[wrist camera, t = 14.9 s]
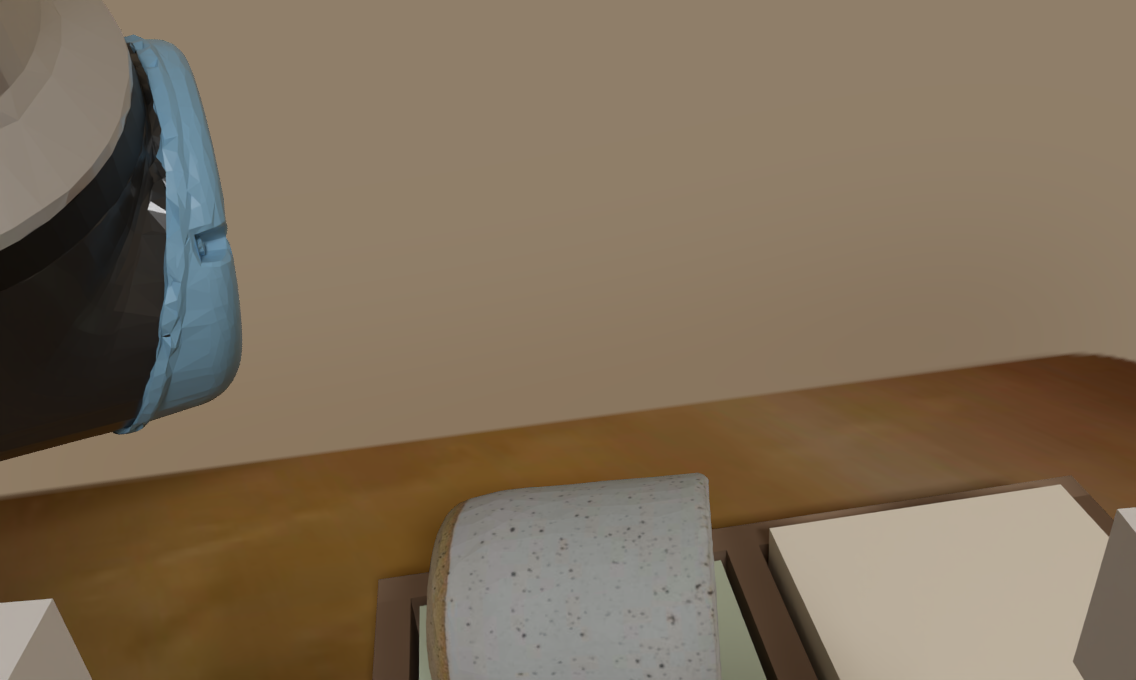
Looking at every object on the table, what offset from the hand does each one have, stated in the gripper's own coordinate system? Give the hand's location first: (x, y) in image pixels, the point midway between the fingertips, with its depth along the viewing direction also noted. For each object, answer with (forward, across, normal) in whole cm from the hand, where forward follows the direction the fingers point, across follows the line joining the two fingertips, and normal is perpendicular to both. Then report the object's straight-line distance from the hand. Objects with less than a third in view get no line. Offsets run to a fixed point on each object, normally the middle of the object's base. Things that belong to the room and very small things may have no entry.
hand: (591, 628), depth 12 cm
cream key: (+12, +13, -17) cm, 25 cm away
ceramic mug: (+10, 0, -16) cm, 19 cm away
